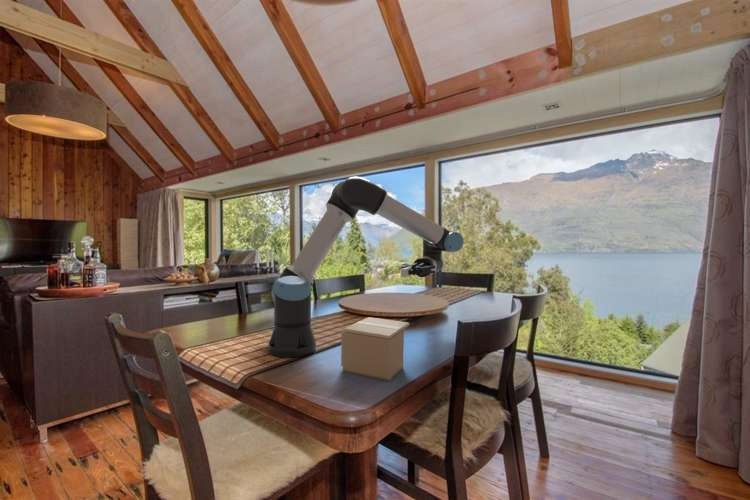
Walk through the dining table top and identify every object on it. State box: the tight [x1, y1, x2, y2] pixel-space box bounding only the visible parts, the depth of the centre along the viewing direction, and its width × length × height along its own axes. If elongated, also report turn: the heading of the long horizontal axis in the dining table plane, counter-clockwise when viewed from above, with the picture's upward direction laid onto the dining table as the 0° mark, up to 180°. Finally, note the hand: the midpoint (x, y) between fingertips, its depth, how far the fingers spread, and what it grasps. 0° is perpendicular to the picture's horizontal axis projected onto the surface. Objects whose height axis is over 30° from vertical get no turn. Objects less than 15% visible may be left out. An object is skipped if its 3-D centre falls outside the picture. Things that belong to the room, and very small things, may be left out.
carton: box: [340, 329, 405, 382], centre depth 96 cm, size 15×10×11 cm
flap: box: [343, 316, 410, 339], centre depth 98 cm, size 14×15×1 cm
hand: (402, 273), depth 113 cm, fingers closed
